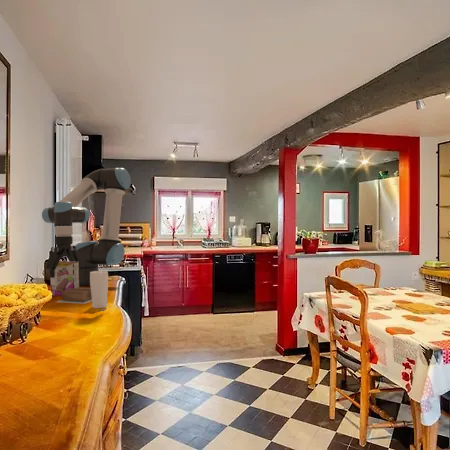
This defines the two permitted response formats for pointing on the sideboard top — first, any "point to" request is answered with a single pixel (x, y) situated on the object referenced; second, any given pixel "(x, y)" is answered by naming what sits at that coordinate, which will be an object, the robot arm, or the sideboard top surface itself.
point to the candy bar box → (66, 277)
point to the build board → (75, 302)
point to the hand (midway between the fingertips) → (64, 282)
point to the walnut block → (77, 294)
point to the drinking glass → (99, 288)
